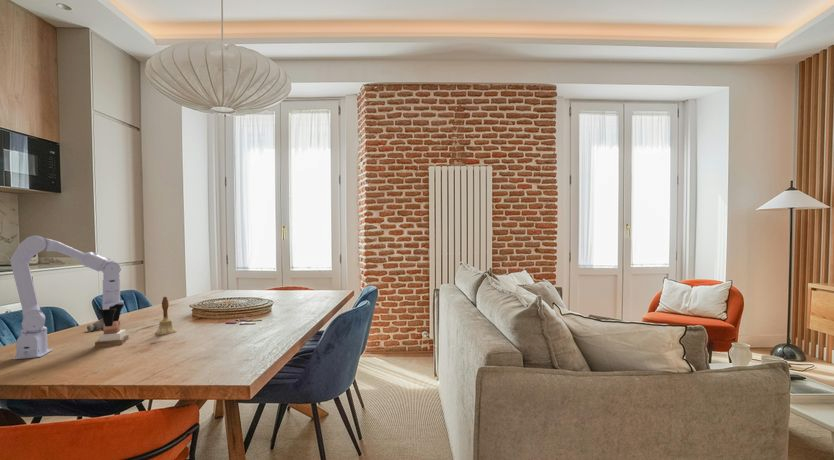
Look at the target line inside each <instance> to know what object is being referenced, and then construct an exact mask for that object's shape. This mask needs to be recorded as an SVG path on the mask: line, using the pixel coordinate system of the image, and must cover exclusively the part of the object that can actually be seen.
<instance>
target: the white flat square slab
mask: <svg viewBox="0 0 834 460" xmlns="http://www.w3.org/2000/svg"><path fill="white" fill-rule="evenodd" d="M126 330H127V329H120V331H119V332H118V333H114V334H104V331H103V332H102V333H101V334H99V335H98V338H99V339H98V340H99V341H111V340H120V339H122V338H123V337H124V336H126V335H127V332H126Z"/></svg>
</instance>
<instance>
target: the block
mask: <svg viewBox="0 0 834 460" xmlns="http://www.w3.org/2000/svg"><path fill="white" fill-rule="evenodd" d="M102 330H103V332H104V334H114V333H118V332H119V331H120V330H121V320H119V321H113V324H112V326H107V327H106V326H105V324H103V329H102Z"/></svg>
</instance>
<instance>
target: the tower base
mask: <svg viewBox="0 0 834 460" xmlns="http://www.w3.org/2000/svg"><path fill="white" fill-rule="evenodd" d="M129 338H130V337H129V334H126V336H124V337H123V338H122V339H120V340H111V341H99V339H97V341H94V347H95V348H98V347H100V346H101V347H110V346H120V345H124V344H125V343H126V342H127V341H128V340H129Z"/></svg>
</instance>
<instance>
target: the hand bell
mask: <svg viewBox="0 0 834 460" xmlns="http://www.w3.org/2000/svg"><path fill="white" fill-rule="evenodd" d="M161 308H162V311H163V313H162V315H163V317H162V319H161V320H160V321H159V326H158V328H157V330H156V331H155V332H154V335H157V336H160V335H162V336H163V335H171V334H174V333H177V329H176V328H175V326H173V323H172V319H171V318H169V316H168V314H169V313H168V309H169V300H168V298H167V296H163V297H162V300H161Z"/></svg>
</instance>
